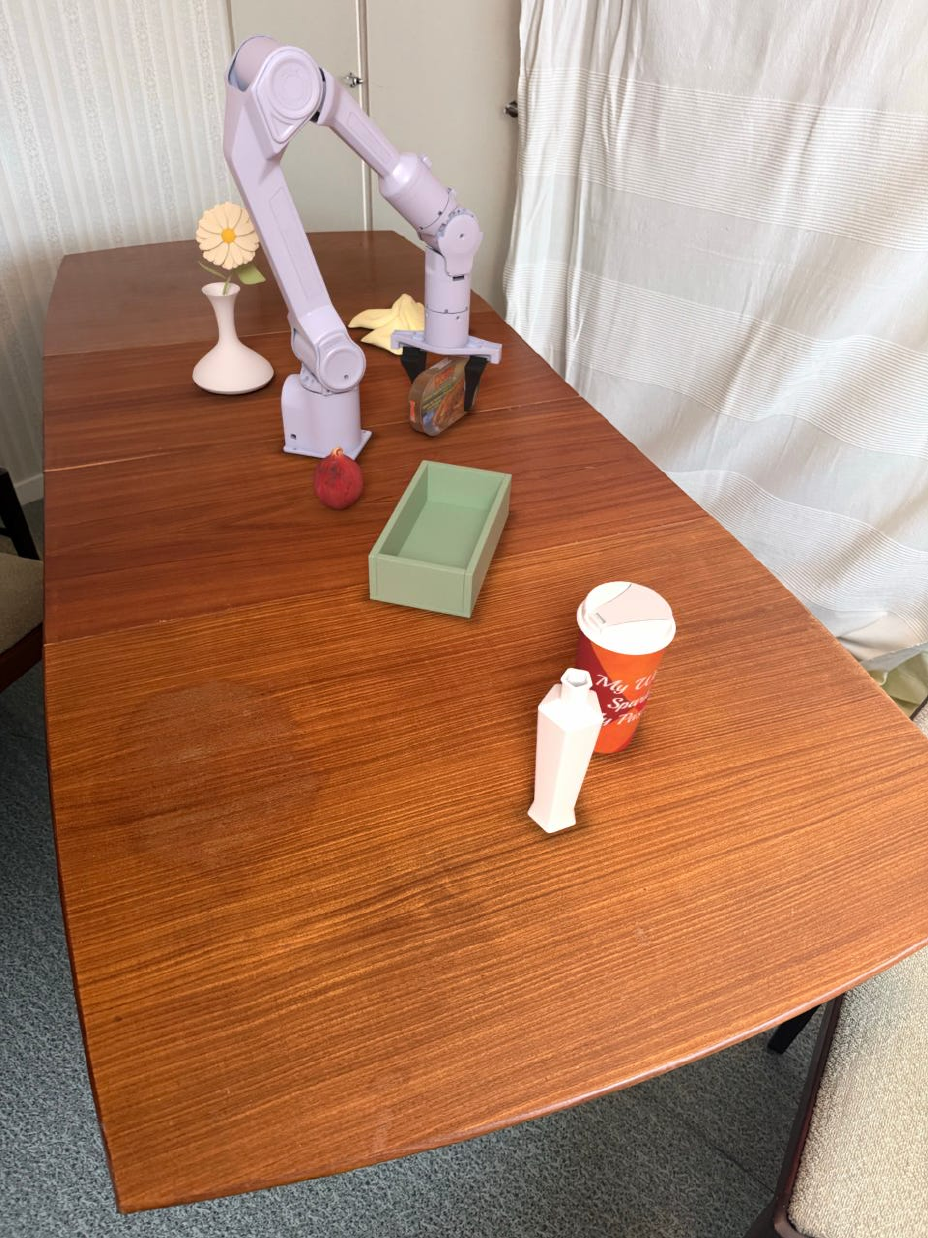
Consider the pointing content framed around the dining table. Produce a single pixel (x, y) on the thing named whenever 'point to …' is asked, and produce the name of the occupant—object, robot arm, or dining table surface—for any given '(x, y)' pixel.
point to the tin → (438, 396)
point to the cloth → (390, 322)
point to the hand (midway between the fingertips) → (444, 404)
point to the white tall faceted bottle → (564, 748)
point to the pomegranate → (338, 480)
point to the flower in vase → (229, 302)
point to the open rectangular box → (440, 539)
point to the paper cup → (622, 654)
